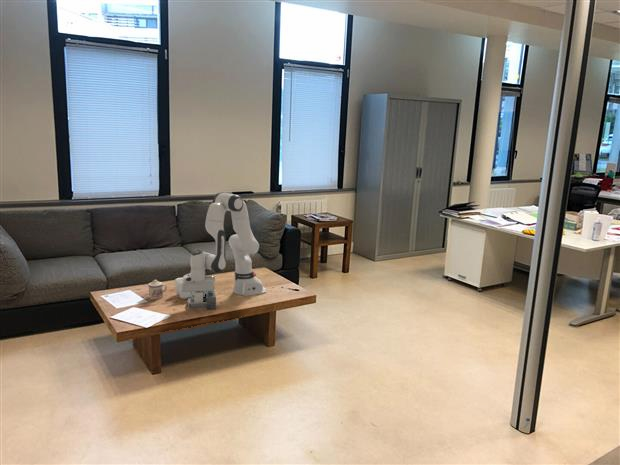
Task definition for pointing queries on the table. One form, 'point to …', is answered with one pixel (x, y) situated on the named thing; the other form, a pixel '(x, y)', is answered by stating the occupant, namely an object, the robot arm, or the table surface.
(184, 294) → the cable organizer
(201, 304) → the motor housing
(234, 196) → the robot arm
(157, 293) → the teacup with lid
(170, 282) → the table surface
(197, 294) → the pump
